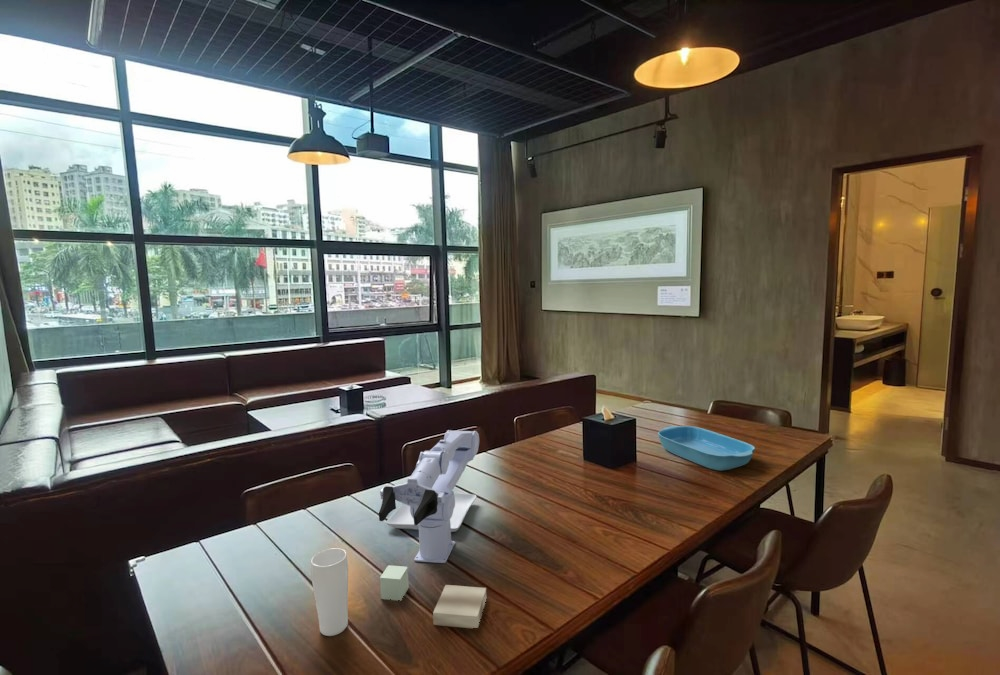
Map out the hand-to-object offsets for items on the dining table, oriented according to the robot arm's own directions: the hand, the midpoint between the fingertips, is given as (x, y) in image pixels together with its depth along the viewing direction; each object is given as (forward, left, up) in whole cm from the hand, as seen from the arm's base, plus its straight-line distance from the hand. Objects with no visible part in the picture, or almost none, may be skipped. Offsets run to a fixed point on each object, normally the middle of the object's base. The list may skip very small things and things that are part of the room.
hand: (397, 518), depth 99 cm
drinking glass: (+8, -11, -20) cm, 24 cm away
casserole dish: (-97, +83, -20) cm, 130 cm away
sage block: (-4, -3, -19) cm, 20 cm away
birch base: (0, +13, -20) cm, 23 cm away
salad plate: (-39, -5, -20) cm, 44 cm away
